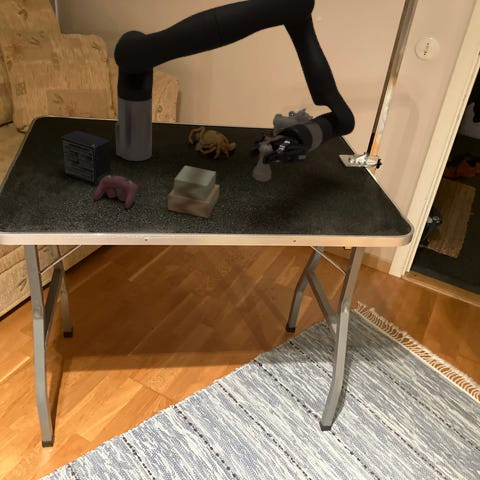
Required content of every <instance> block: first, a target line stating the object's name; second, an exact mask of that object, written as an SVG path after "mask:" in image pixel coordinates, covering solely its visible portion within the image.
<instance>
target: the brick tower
mask: <svg viewBox="0 0 480 480" xmlns="http://www.w3.org/2000/svg"><path fill="white" fill-rule="evenodd" d="M216 178H217V171H212V170H209V169H203V168H199V167H194V166H189V165H184V166H183V167H182V169H181V170H180V171H179V173H178V174H177V175H176V177H175V178H174V181H173V184H174V185H173V188H172V190H171V191H170V192H169V194H168V196H167V210H169V211H172V212H177V213H183V214H187V215H190V216H196V217H200V218H205V219H208V218H209V216H210V215H211V213H212V211H213V210H214V207H215V206H216V204H217V203H218V200H219V197H220V188H221V186H220V184H216Z"/></svg>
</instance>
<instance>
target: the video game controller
mask: <svg viewBox="0 0 480 480" xmlns="http://www.w3.org/2000/svg"><path fill="white" fill-rule="evenodd" d="M117 189H119V190H122V191H120V192H119V193H118V190H117ZM138 191H139V187H138V185H137V184H136V183H135V182H133V181H132V180H130V179H129V178H127V177H124V176H121V175H111V174H110V175H109V176H105V177H104V178H103V179H101V181H100V183H99V184H97V186H96V189H95V191H94V194H93V198H94V200H95V201H98V200H100V199H102V197H103V196H104V194H105V193H106V195H107V197H108V198H110V199H112V198H113V199H115V198H116V197H117V196H118V199H119V200H120V201H121V202H124V208H125V209H126V210H129V209H130V208H132V205H133V204H134V201H135V198H136V196H137V194H138Z"/></svg>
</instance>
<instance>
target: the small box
mask: <svg viewBox="0 0 480 480" xmlns="http://www.w3.org/2000/svg"><path fill="white" fill-rule="evenodd" d="M60 140H61V148H62V157H63V159H62V160H63V170H64V172H63V173H64V175H66V176H69V177H71V178H75V179H78V180H81V181H83V182H86V183H89V184H92V185H95V186H98V185H99V183H100V181H101V179H103V178H104V177H105V176H109V175H111V158H110V157H111V156H110V140H108V139H106V138H103V137H100V136H96V135H92V134H91V133H90V134H89V133H87V132H83V131H80V130H74V131H72V132H70V133H67V134H65V135H62V136H61V137H60Z"/></svg>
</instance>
